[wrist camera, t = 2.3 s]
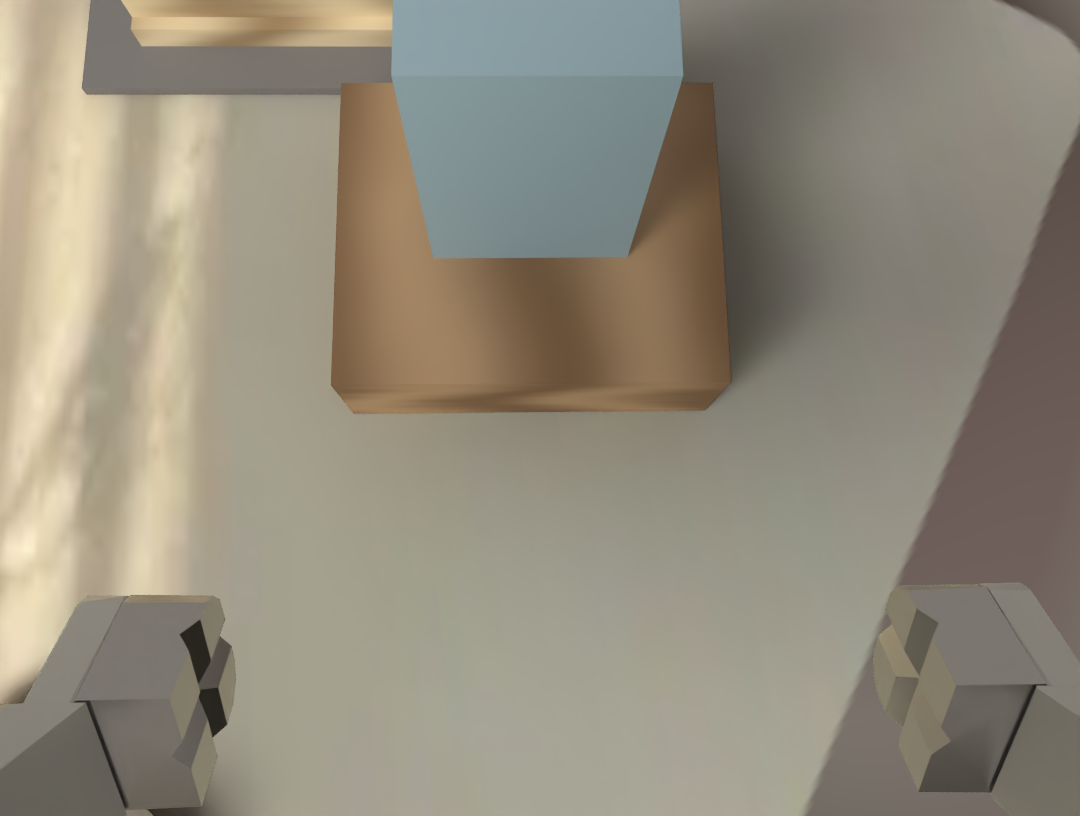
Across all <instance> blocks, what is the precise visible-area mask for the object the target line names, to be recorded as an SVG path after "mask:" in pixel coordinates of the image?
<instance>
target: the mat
mask: <svg viewBox="0 0 1080 816" xmlns="http://www.w3.org/2000/svg"><path fill="white" fill-rule="evenodd" d="M131 21H132V16H131V15H130V13H129V12H128V10H127V9H126V7H125V6H124V4H123V2H122V1H121V0H91V3H90V13H89V23H88V33H87V43H86V53H85V63H84V73H83V83H82V89H83V90H84V91H85V93H86V94H341V83H393V81H392V77H391V65H392V47H333V46H141V44H140V43H139V41H138V40H137V38H136V37H135V35H134V34H133V32H132V31H131Z"/></svg>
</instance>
